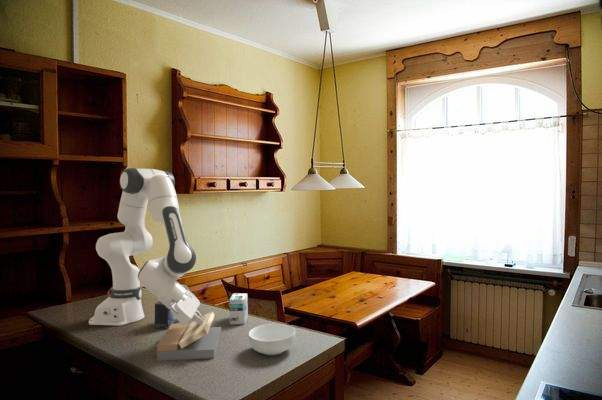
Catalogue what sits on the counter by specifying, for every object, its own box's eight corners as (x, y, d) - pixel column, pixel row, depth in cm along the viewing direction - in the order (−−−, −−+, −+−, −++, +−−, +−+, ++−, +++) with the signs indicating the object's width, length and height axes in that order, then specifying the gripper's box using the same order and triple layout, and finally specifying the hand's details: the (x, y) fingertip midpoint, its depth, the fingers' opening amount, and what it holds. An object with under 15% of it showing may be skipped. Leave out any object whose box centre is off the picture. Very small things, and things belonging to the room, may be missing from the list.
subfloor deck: (157, 360, 135) (156, 345, 135) (172, 336, 157) (171, 323, 157) (214, 358, 137) (213, 343, 137) (221, 334, 159) (220, 321, 159)
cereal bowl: (262, 339, 154) (262, 320, 154) (302, 345, 148) (302, 326, 147) (239, 356, 138) (239, 336, 138) (283, 364, 132) (283, 343, 132)
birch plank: (181, 348, 137) (178, 343, 137) (192, 327, 157) (189, 323, 157) (207, 333, 138) (204, 328, 138) (214, 315, 158) (212, 310, 157)
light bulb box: (245, 324, 170) (244, 299, 170) (229, 324, 170) (228, 299, 170) (248, 316, 181) (247, 292, 180) (233, 316, 181) (232, 292, 180)
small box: (168, 329, 165) (167, 304, 165) (154, 328, 166) (153, 303, 166) (180, 321, 175) (180, 297, 175) (167, 320, 177) (166, 296, 176)
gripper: (174, 298, 136) (204, 325, 137) (186, 284, 156) (212, 307, 157) (161, 312, 136) (191, 339, 137) (175, 295, 156) (201, 319, 157)
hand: (202, 322), depth 147 cm, fingers closed, pressing on birch plank
